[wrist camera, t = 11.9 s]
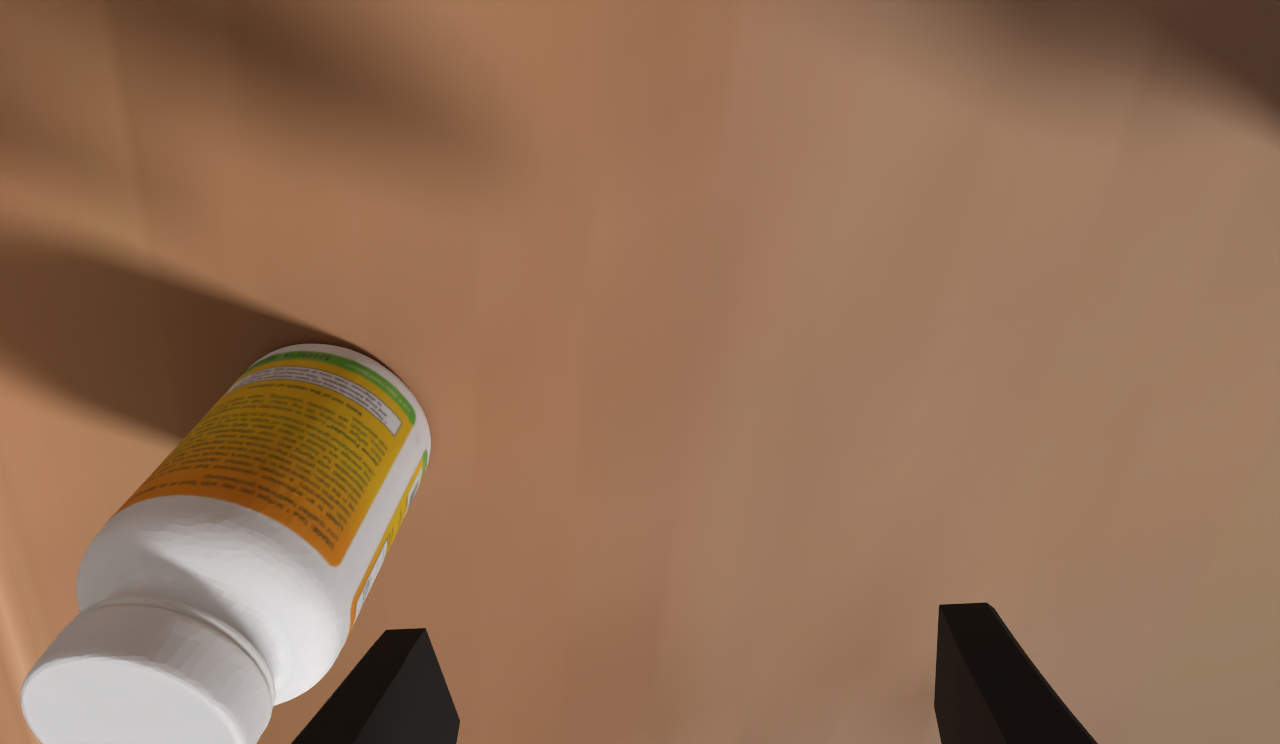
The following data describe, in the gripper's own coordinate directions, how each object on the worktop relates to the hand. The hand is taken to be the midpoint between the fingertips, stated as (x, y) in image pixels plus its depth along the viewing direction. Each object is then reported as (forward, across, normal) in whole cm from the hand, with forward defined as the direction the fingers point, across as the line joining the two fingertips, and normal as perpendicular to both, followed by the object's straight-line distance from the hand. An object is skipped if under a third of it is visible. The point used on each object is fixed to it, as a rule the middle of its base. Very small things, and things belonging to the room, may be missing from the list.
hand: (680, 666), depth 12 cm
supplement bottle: (+11, +10, +2) cm, 15 cm away
